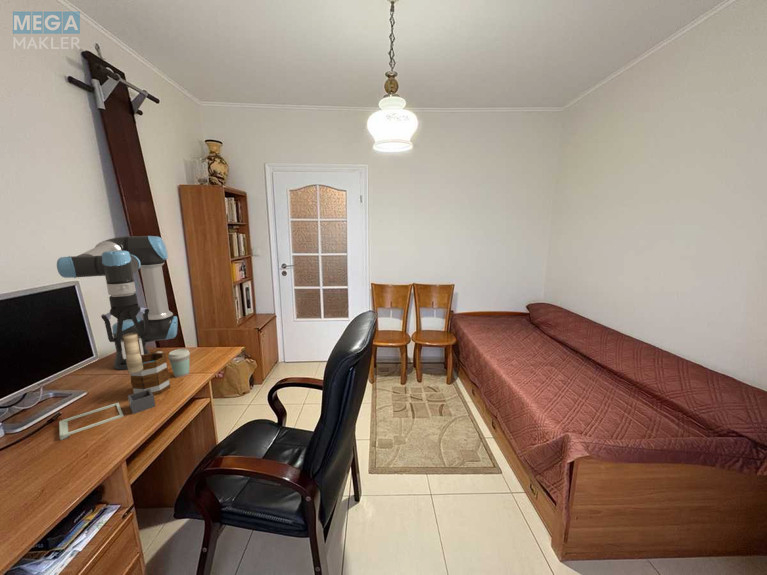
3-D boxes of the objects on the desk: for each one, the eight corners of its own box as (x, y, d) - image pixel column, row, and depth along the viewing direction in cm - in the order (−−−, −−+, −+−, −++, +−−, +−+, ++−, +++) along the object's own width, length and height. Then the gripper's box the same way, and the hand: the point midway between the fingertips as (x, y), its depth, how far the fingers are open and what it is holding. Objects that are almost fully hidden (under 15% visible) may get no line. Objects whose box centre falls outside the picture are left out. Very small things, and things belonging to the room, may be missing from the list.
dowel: (127, 370, 114) (121, 335, 112) (142, 366, 117) (136, 332, 115) (129, 374, 111) (123, 337, 109) (144, 370, 114) (138, 334, 112)
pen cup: (130, 408, 117) (127, 395, 116) (151, 401, 122) (149, 388, 121) (133, 415, 113) (130, 402, 112) (155, 408, 117) (153, 395, 116)
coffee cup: (196, 371, 147) (193, 348, 145) (183, 380, 139) (180, 355, 137) (180, 371, 148) (177, 347, 146) (166, 379, 140) (162, 355, 138)
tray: (60, 424, 108) (59, 421, 108) (118, 405, 119) (118, 402, 119) (60, 440, 100) (59, 436, 100) (123, 418, 111) (123, 414, 111)
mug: (164, 397, 125) (159, 363, 122) (125, 402, 121) (119, 367, 118) (181, 375, 143) (177, 345, 141) (148, 379, 140) (143, 348, 137)
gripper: (90, 300, 100) (103, 366, 104) (154, 292, 113) (164, 351, 117) (88, 296, 105) (100, 360, 109) (150, 289, 118) (159, 346, 122)
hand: (133, 355), depth 113 cm, fingers closed on dowel, 4 cm apart
